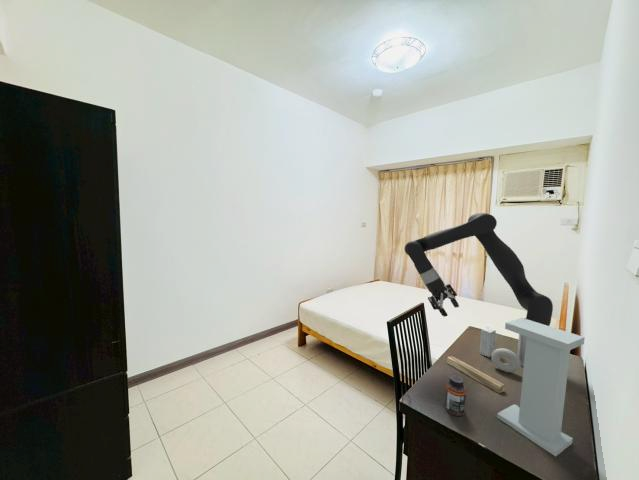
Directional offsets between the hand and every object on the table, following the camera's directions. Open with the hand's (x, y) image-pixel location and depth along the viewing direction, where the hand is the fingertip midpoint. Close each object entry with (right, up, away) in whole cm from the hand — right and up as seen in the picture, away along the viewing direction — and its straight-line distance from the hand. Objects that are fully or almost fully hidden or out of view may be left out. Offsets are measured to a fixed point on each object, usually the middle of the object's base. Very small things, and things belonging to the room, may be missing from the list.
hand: (451, 311), depth 114 cm
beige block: (+4, -24, -9) cm, 26 cm away
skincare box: (+22, -23, +9) cm, 33 cm away
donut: (+20, -24, -5) cm, 32 cm away
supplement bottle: (-14, -25, -29) cm, 41 cm away
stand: (+6, -26, -36) cm, 45 cm away
